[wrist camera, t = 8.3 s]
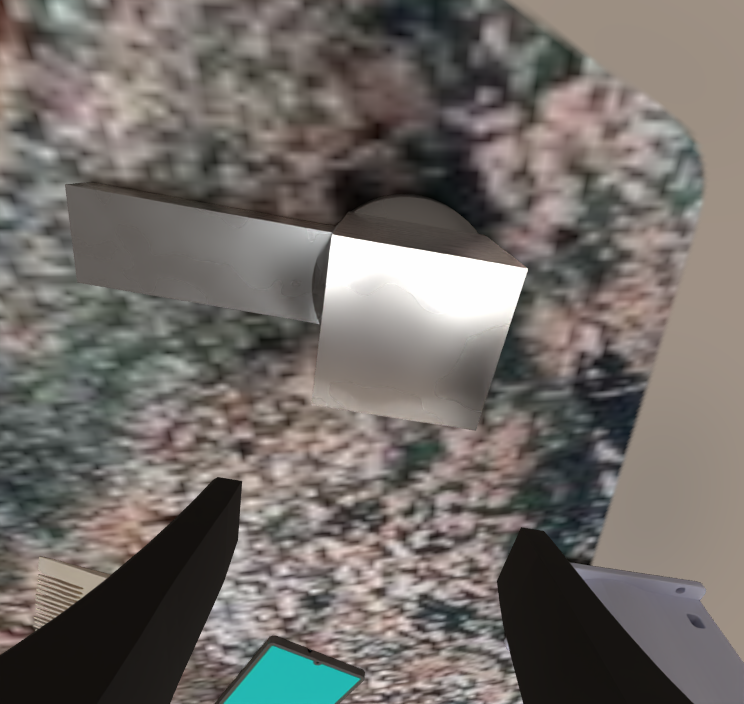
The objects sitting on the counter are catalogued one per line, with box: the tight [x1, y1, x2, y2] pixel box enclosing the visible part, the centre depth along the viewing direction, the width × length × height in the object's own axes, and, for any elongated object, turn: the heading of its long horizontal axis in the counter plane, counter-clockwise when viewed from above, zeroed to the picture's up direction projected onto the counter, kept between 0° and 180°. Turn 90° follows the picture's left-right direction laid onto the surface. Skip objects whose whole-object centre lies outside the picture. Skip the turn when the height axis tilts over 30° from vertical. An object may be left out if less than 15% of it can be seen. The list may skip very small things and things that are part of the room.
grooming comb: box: [34, 556, 110, 628], centre depth 29 cm, size 18×10×1 cm, turn 158°
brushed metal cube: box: [311, 212, 528, 430], centre depth 14 cm, size 5×5×5 cm
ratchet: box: [65, 182, 478, 326], centre depth 15 cm, size 16×7×4 cm, turn 80°
